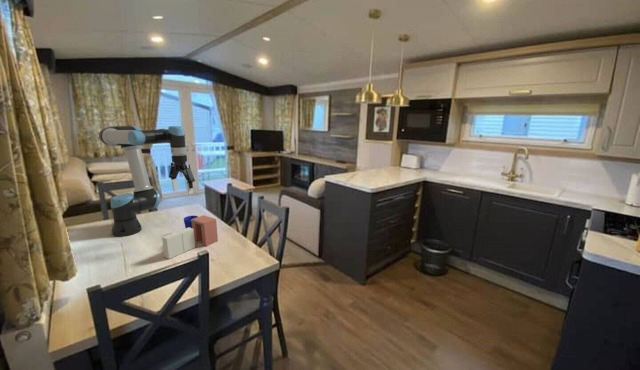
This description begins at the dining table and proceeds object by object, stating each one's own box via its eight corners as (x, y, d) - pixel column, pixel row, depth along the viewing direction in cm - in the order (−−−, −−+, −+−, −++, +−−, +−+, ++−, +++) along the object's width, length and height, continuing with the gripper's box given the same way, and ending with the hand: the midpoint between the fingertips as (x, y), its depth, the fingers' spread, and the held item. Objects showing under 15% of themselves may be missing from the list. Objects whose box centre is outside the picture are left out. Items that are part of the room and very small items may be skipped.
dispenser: (192, 242, 161) (190, 219, 157) (205, 236, 168) (203, 215, 164) (205, 246, 155) (203, 223, 152) (217, 241, 162) (216, 218, 159)
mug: (200, 236, 167) (198, 221, 165) (182, 234, 170) (180, 219, 167) (207, 231, 175) (206, 216, 173) (190, 229, 178) (189, 214, 175)
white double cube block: (164, 256, 143) (162, 237, 140) (190, 245, 156) (188, 227, 153) (169, 258, 141) (166, 239, 138) (195, 247, 154) (193, 228, 151)
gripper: (159, 153, 156) (163, 190, 161) (187, 157, 144) (191, 197, 149) (171, 152, 162) (176, 187, 167) (199, 156, 150) (203, 193, 155)
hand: (183, 192), depth 158 cm, fingers open, 13 cm apart
